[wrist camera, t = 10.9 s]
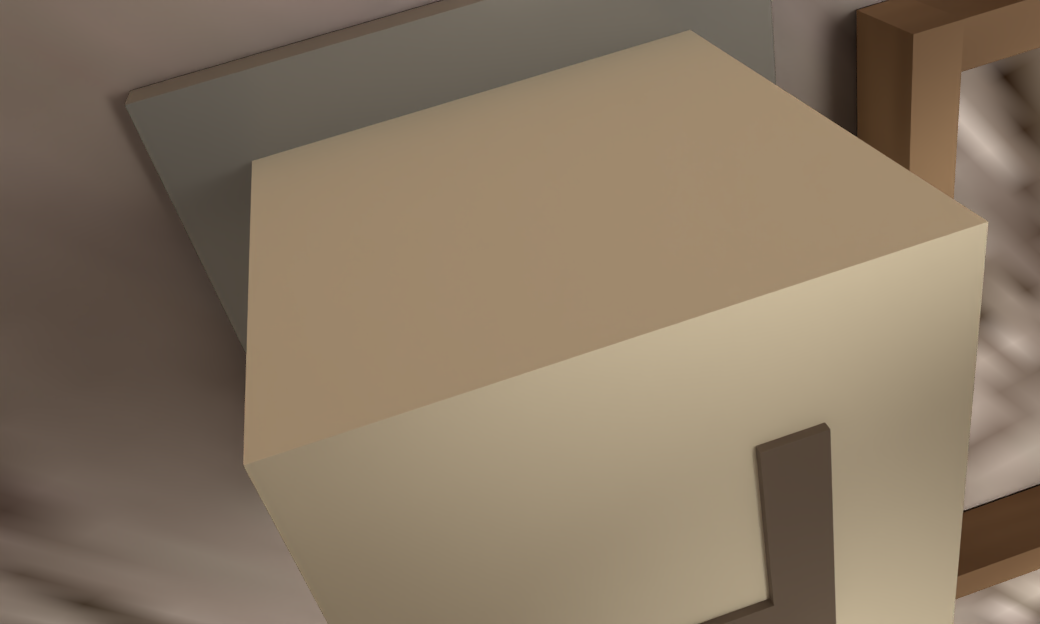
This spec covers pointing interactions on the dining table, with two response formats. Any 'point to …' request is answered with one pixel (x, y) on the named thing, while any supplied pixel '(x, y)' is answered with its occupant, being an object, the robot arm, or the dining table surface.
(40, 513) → the dining table surface
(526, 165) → the letter cube
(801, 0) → the dining table surface
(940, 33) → the walnut rack
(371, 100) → the slate pad
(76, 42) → the dining table surface
